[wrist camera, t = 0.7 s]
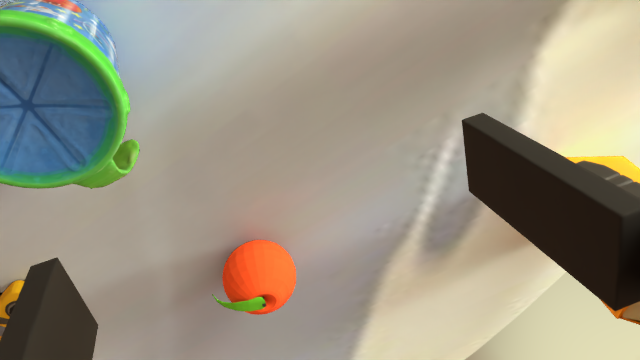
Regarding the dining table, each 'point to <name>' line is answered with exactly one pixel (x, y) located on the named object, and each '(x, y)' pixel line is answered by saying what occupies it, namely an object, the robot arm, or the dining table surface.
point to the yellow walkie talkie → (8, 303)
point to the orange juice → (636, 311)
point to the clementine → (258, 277)
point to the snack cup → (60, 98)
